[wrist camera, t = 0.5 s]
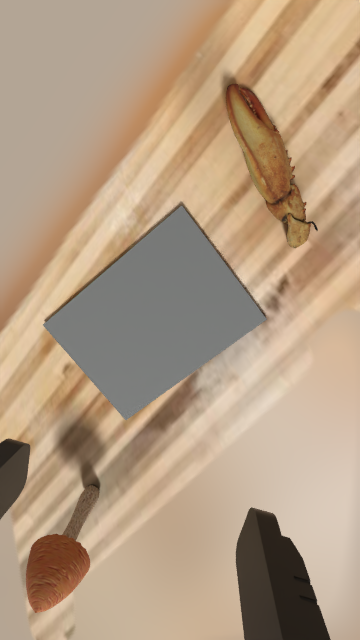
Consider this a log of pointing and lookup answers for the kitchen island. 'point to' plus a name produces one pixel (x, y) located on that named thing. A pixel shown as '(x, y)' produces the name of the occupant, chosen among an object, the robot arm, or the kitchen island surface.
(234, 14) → the kitchen island surface
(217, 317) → the mat
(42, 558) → the mushroom
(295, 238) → the crab claw
